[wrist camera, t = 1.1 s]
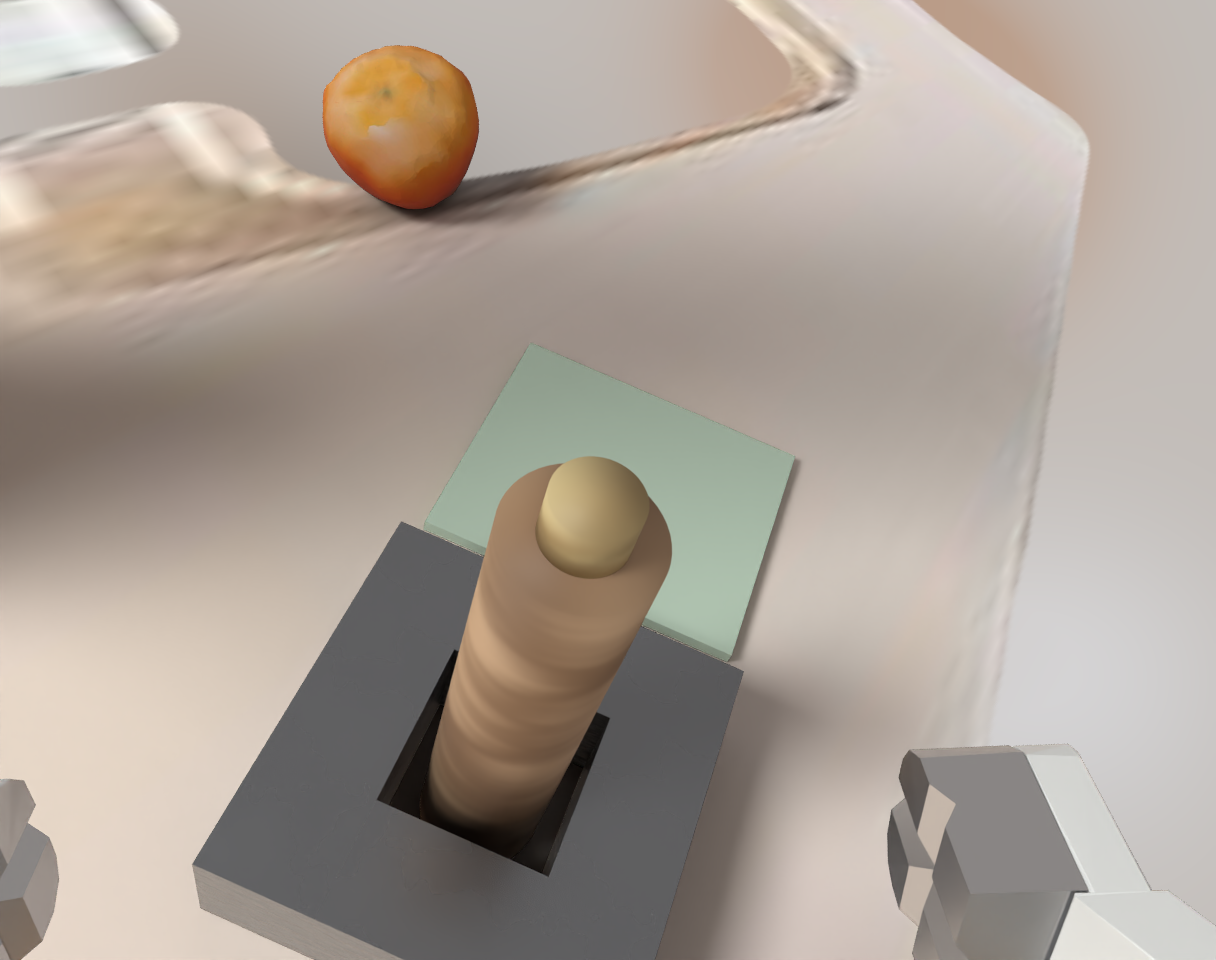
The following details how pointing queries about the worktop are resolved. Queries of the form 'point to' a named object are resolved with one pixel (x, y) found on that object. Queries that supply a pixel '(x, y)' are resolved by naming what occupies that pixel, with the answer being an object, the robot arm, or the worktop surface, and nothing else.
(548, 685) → the bottle
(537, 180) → the worktop surface
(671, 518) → the mat
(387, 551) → the housing
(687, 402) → the worktop surface
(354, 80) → the fruit
